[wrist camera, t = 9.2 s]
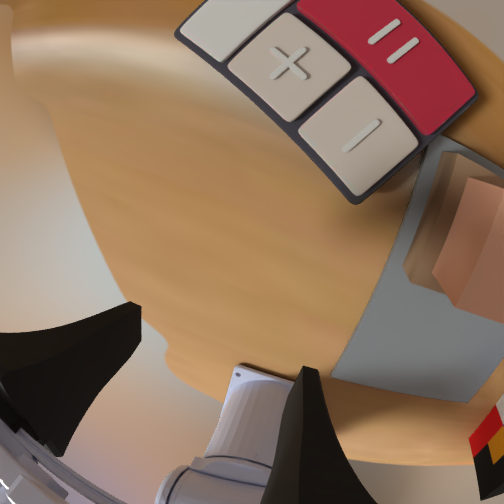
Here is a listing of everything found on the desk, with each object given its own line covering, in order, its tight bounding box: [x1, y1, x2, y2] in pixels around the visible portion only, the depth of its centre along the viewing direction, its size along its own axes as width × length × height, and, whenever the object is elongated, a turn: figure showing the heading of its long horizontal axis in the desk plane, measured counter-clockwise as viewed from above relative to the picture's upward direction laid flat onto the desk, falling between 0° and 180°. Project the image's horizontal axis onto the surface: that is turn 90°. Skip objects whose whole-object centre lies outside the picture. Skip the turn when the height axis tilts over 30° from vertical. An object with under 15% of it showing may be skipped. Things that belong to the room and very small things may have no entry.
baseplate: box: [331, 135, 504, 403], centre depth 17 cm, size 20×16×1 cm
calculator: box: [174, 0, 479, 205], centre depth 13 cm, size 11×4×15 cm
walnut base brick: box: [402, 152, 504, 295], centre depth 14 cm, size 8×6×2 cm
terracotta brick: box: [432, 177, 504, 324], centre depth 11 cm, size 6×4×4 cm, turn 167°
